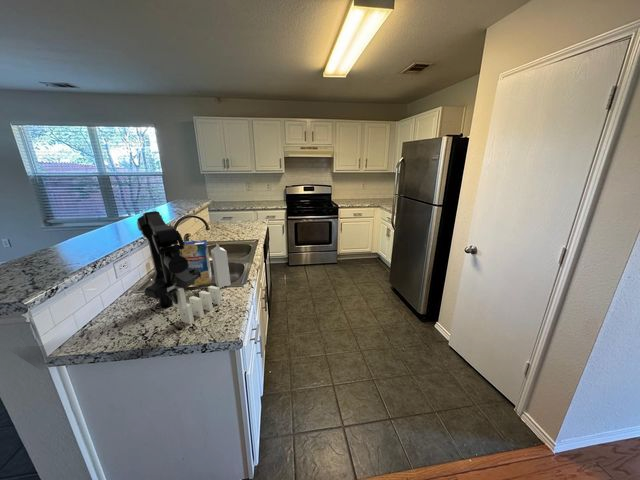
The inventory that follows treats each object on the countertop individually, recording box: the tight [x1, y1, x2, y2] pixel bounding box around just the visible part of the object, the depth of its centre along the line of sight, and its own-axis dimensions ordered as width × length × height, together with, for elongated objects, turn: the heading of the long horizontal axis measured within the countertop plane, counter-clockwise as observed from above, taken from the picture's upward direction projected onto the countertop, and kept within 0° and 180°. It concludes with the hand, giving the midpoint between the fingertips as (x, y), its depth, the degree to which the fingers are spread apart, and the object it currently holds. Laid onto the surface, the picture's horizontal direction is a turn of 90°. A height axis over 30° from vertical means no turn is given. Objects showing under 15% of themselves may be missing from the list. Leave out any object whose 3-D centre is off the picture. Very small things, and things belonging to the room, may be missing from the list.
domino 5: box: [207, 285, 222, 306], centre depth 114 cm, size 5×2×8 cm, turn 66°
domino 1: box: [172, 286, 188, 310], centre depth 94 cm, size 5×2×8 cm, turn 68°
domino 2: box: [178, 302, 195, 325], centre depth 101 cm, size 5×2×8 cm, turn 66°
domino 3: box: [188, 295, 205, 318], centre depth 106 cm, size 5×2×8 cm, turn 66°
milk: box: [210, 243, 231, 289], centre depth 129 cm, size 6×6×22 cm
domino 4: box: [198, 290, 214, 312], centre depth 110 cm, size 5×2×8 cm, turn 66°
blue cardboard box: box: [180, 239, 213, 287], centre depth 133 cm, size 7×11×22 cm, turn 104°
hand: (178, 302), depth 95 cm, fingers closed on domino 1, 2 cm apart
